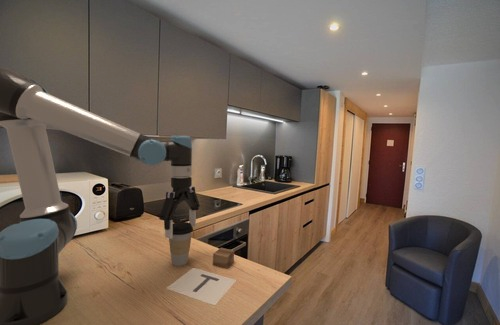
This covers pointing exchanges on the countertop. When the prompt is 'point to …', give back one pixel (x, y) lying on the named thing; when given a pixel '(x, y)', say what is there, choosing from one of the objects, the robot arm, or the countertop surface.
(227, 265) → the walnut block
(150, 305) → the countertop surface
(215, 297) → the letter sheet
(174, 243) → the coffee cup
